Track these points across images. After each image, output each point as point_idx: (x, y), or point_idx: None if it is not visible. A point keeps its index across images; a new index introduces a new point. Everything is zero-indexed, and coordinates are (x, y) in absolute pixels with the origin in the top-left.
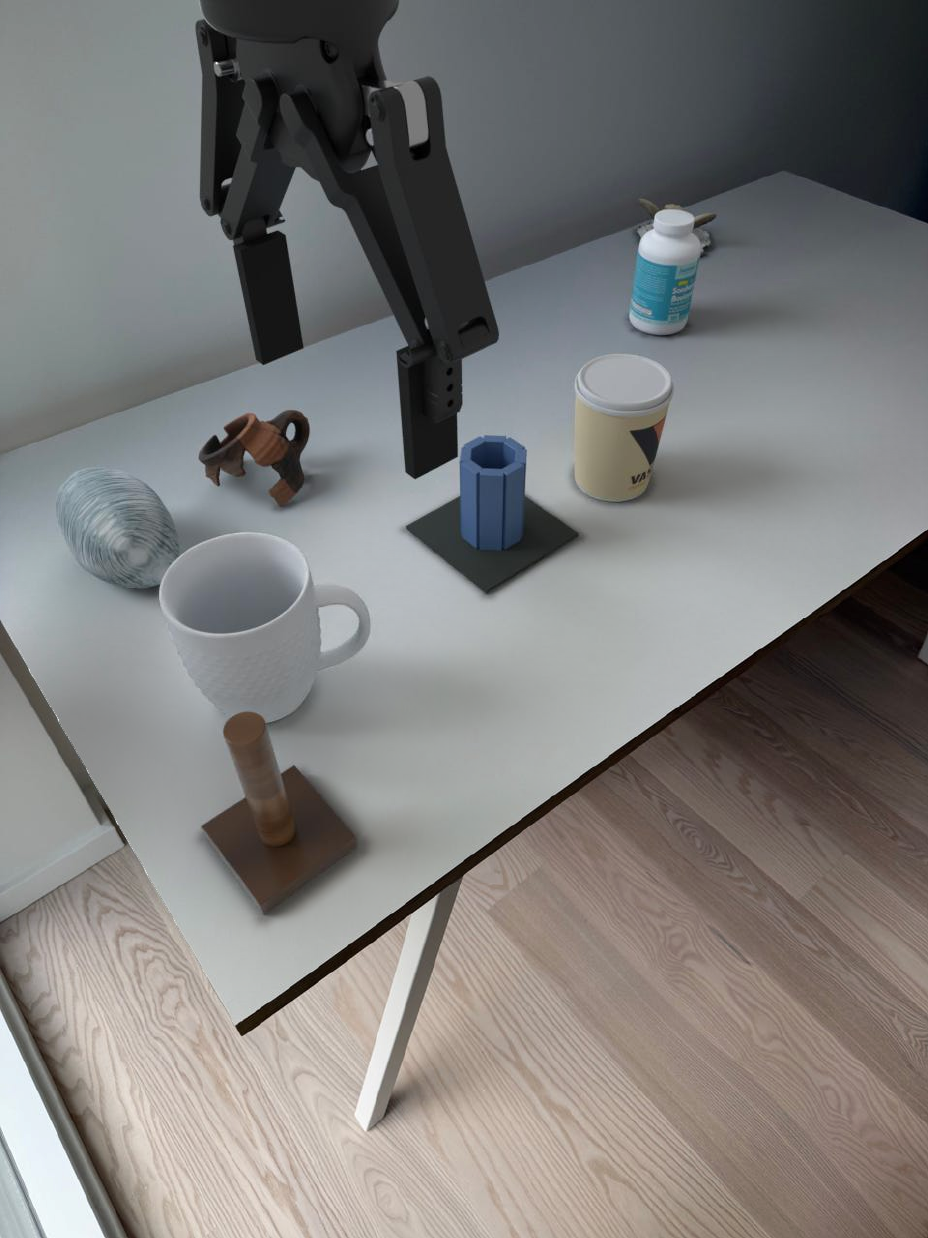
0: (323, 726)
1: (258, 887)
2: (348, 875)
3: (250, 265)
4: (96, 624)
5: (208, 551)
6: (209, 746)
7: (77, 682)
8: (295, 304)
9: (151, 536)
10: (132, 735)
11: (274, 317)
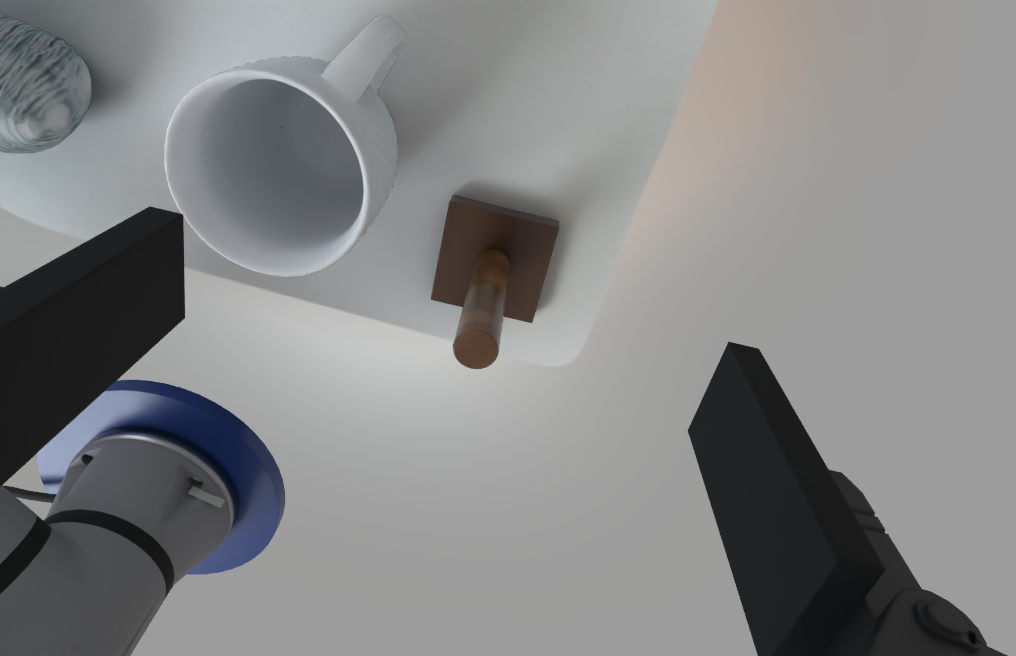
0: (427, 128)
1: (519, 312)
2: (570, 247)
3: (12, 451)
4: (106, 175)
5: (180, 147)
6: None
7: None
8: (110, 262)
9: (34, 86)
10: None
11: (125, 322)
